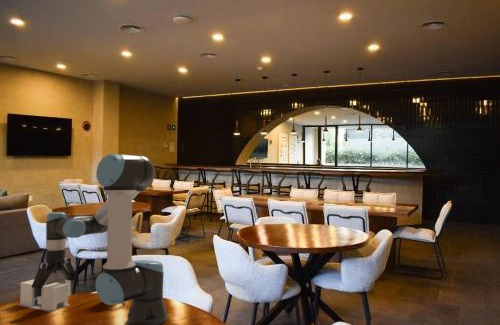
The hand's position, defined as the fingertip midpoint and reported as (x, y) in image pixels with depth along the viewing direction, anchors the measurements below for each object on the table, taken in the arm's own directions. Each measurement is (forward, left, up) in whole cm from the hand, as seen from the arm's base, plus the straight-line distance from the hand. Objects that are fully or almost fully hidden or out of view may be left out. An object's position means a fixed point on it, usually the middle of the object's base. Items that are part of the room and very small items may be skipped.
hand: (54, 299), depth 172 cm
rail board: (+6, 0, -4) cm, 8 cm away
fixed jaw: (+13, 0, -3) cm, 13 cm away
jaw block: (0, 0, -3) cm, 3 cm away
